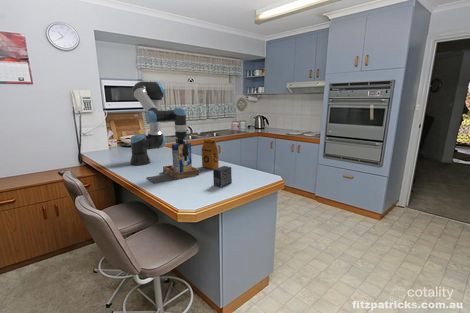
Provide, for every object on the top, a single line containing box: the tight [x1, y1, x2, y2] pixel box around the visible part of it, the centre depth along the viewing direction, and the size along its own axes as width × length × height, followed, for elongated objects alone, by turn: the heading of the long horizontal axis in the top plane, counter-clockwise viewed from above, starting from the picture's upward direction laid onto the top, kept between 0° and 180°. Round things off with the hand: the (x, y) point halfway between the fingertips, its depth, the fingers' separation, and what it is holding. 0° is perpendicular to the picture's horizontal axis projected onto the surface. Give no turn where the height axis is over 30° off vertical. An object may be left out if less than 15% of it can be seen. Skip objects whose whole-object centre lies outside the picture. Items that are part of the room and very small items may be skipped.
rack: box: [162, 164, 200, 181], centre depth 177 cm, size 22×17×4 cm
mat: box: [146, 173, 176, 185], centre depth 165 cm, size 14×14×1 cm
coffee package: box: [201, 138, 220, 170], centre depth 190 cm, size 10×12×22 cm
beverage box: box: [171, 142, 193, 173], centre depth 172 cm, size 7×11×22 cm, turn 143°
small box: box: [212, 165, 233, 188], centre depth 154 cm, size 11×6×10 cm, turn 141°
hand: (182, 163), depth 173 cm, fingers open, 8 cm apart
